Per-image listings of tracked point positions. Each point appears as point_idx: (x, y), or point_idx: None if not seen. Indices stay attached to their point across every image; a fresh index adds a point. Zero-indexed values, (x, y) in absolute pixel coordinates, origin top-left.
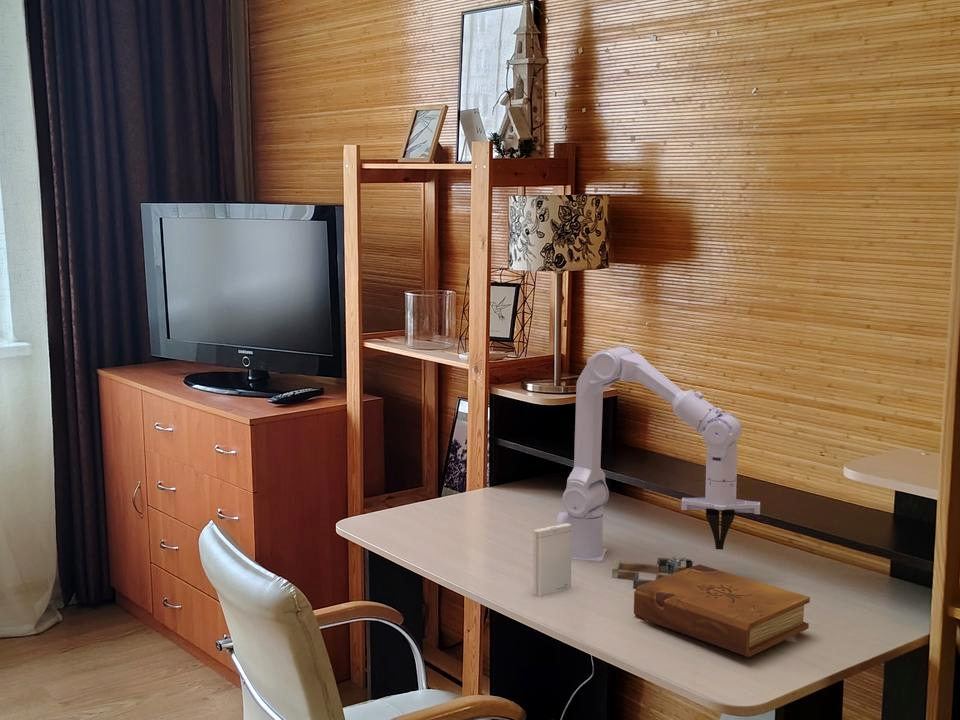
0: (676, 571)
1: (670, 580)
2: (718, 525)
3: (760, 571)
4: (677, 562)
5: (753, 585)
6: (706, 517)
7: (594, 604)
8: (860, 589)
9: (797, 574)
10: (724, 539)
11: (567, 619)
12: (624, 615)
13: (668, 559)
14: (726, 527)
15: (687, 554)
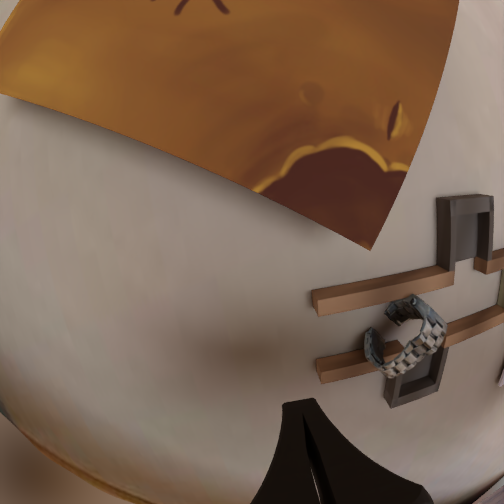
0: (414, 298)
1: (417, 21)
2: (332, 484)
3: (192, 433)
4: (426, 318)
5: (95, 67)
6: (427, 493)
7: (501, 73)
8: (6, 367)
9: (116, 429)
10: (281, 434)
11: (493, 7)
12: None
13: (418, 393)
14: (277, 487)
15: None
